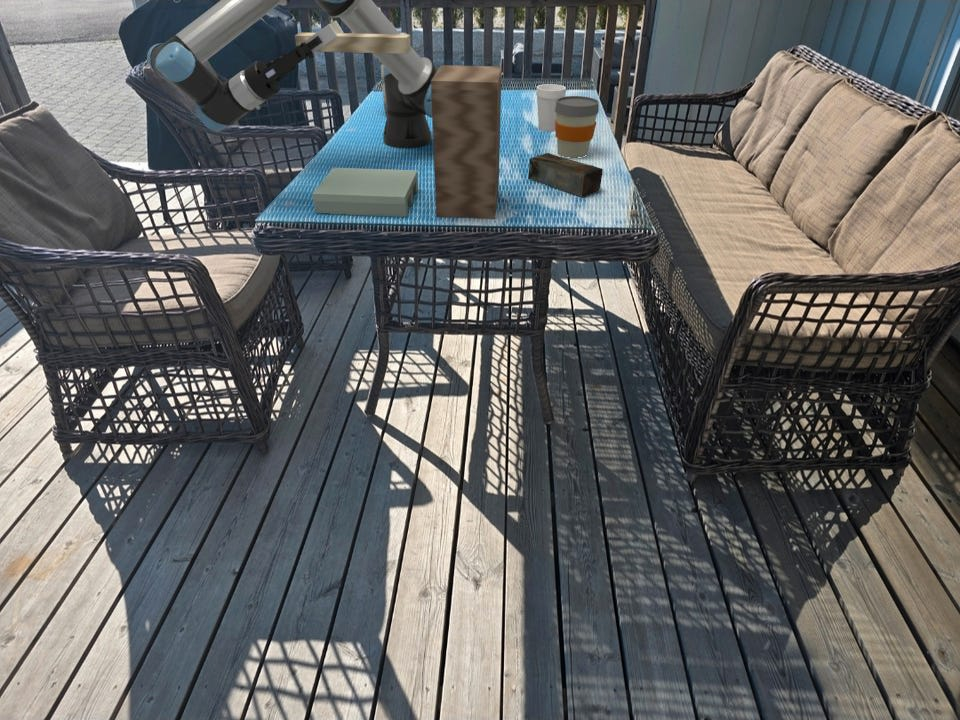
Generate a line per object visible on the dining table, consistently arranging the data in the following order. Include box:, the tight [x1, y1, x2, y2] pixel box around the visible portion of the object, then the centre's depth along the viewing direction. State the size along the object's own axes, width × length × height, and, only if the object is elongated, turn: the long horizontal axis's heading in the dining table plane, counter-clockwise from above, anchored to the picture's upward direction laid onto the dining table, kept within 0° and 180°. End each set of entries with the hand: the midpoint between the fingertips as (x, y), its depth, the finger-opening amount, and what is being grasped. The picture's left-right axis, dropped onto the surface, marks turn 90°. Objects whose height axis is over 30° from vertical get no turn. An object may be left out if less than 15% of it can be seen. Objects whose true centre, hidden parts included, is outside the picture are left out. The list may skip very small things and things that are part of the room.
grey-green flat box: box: [311, 167, 419, 218], centre depth 148 cm, size 22×18×5 cm
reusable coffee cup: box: [554, 95, 600, 159], centre depth 176 cm, size 13×13×15 cm
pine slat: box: [294, 31, 412, 54], centre depth 128 cm, size 24×4×3 cm, turn 86°
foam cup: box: [535, 83, 567, 133], centre depth 197 cm, size 10×9×13 cm
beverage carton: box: [528, 152, 604, 198], centre depth 158 cm, size 8×19×7 cm, turn 44°
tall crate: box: [431, 64, 503, 220], centre depth 139 cm, size 14×16×30 cm
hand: (336, 28), depth 127 cm, fingers closed on pine slat, 4 cm apart
